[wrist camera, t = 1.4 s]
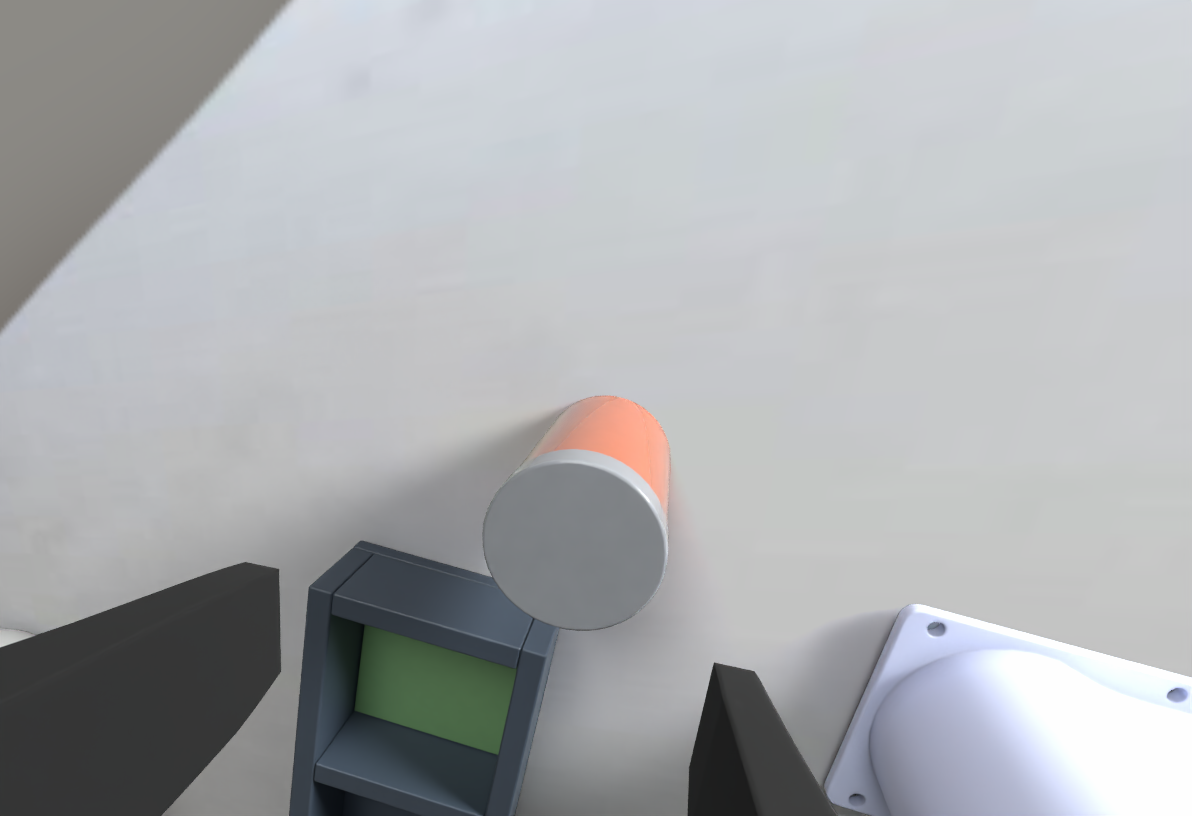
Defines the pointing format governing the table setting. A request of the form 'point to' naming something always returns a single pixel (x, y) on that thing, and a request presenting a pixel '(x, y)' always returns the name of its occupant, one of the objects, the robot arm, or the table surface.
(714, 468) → the table surface
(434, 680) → the tray
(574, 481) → the salt shaker
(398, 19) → the table surface
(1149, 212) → the table surface
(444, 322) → the table surface
